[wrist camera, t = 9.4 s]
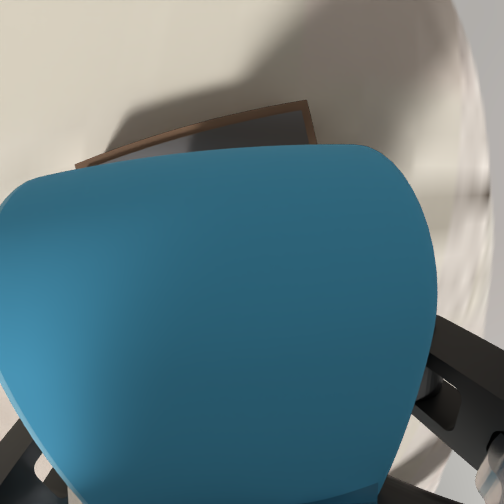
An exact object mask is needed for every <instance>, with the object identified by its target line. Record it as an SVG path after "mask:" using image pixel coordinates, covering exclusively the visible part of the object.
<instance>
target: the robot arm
mask: <svg viewBox="0 0 504 504" xmlns="http://www.w3.org/2000/svg"><path fill="white" fill-rule="evenodd" d="M443 379H445V380H446V381H448V382H449V383H450V384H452V385H453V386H455V387H456V388H457V389H456V388H454V387H453V386H452V385H450V384H449V383H447V382H446V381H444V380H443ZM411 414H412V415H414V416H415V417H416V418H417V419H418V420H419V421H420V422H422V423H423V424H424V425H425V426H426V427H427V428H428V429H430V430H431V431H432V432H433V433H434V434H435V435H436V436H438V437H439V438H440V439H441V440H442V441H443V442H445V443H446V444H447V445H448V446H449V447H450V448H451V449H453V450H454V451H455V452H456V453H457V454H458V455H460V456H461V457H462V458H463V459H464V460H465V461H467V462H468V463H469V464H470V465H471V466H472V467H474V468H475V469H476V470H477V474H476V479H475V482H476V488H477V490H478V492H479V493H480V494H481V496H482V497H483V498H484V500H485V503H486V504H504V350H502V349H500V348H499V347H497V346H495V345H493V344H491V343H489V342H488V341H486V340H484V339H482V338H480V337H478V336H477V335H475V334H473V333H471V332H469V331H467V330H465V329H464V328H462V327H460V326H458V325H456V324H454V323H452V322H450V321H448V320H447V319H445V318H443V317H441V316H438V315H436V320H435V327H434V333H433V338H432V342H431V346H430V351H429V355H428V359H427V363H426V366H425V370H424V374H423V377H422V381H421V384H420V388H419V391H418V394H417V398H416V401H415V404H414V407H413V410H412V413H411ZM41 454H42V451H41V450H40V448H39V447H38V445H37V444H36V443H35V441H34V440H33V438H32V437H31V435H30V433H29V432H28V430H27V429H26V427H25V426H24V424H23V422H22V421H21V419H20V418H19V419H18V421H17V422H16V423H15V424H14V426H13V427H12V428H11V429H10V430H9V432H8V433H7V434H6V435H5V437H4V438H3V439H2V440H1V442H0V504H83V503H82V502H81V501H80V500H79V499H78V497H77V496H76V495H75V494H74V493H73V492H72V490H71V489H70V488H69V487H68V486H67V484H66V483H65V482H64V481H63V479H62V478H61V477H60V476H59V474H58V473H57V472H56V470H55V469H54V468H52V469H51V471H50V472H49V474H48V475H47V477H46V479H45V480H44V482H42V481H41V480H40V479H39V478H38V477H37V476H36V475H35V472H34V465H35V463H36V461H37V460H38V458H39V457H40V455H41ZM301 504H463V503H460V502H457V501H454V500H451V499H448V498H445V497H442V496H439V495H437V494H434V493H431V492H429V491H426V490H423V489H421V488H418V487H416V486H413V485H411V484H408V483H406V482H403V481H401V480H399V479H396V478H394V477H392V476H389V475H387V477H386V479H385V481H384V484H383V486H382V488H381V490H380V492H379V494H378V483H375V484H372V485H370V486H367V487H364V488H361V489H358V490H355V491H352V492H349V493H346V494H343V495H339V496H336V497H332V498H328V499H324V500H319V501H314V502H308V503H301Z"/></svg>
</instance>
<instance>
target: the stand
mask: <svg viewBox="0 0 504 504" xmlns="http://www.w3.org/2000/svg"><path fill="white" fill-rule="evenodd" d="M281 145H317V141H316V137H315V132H314V128H313V123H312V119H311V115H310V111H309V107H308V103H307V100H302V101H296V102H291V103H285V104H280V105H274V106H269V107H264V108H259V109H254V110H250V111H245V112H241V113H236V114H232V115H228V116H224V117H220V118H216V119H212V120H208V121H204V122H200V123H196V124H193V125H189V126H186V127H182V128H179V129H175V130H172V131H168V132H165V133H162V134H159V135H155V136H152V137H149V138H146V139H143V140H140V141H137V142H134V143H131V144H128V145H125V146H122V147H119V148H117V149H114V150H111V151H108V152H106V153H103V154H100V155H98V156H95V157H92V158H90V159H87V160H85V161H82V162H80V163H77V164H75V168H76V169H80V168H85V167H91V166H96V165H102V164H108V163H113V162H120V161H126V160H133V159H139V158H146V157H154V156H161V155H169V154H178V153H187V152H196V151H206V150H218V149H230V148H244V147H260V146H281Z"/></svg>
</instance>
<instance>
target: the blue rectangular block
mask: <svg viewBox="0 0 504 504" xmlns="http://www.w3.org/2000/svg"><path fill="white" fill-rule="evenodd" d="M436 311H437V272H436V264H435V257H434V250H433V245H432V241H431V237H430V233H429V229H428V225H427V222H426V219H425V217H424V214H423V211H422V208H421V206H420V204H419V202H418V200H417V198H416V195H415V193H414V191H413V189H412V188H411V186H410V185H409V183H408V181H407V180H406V178H405V177H404V175H403V174H402V173H401V172H400V170H399V169H398V168H397V167H396V166H395V165H394V164H393V162H391V161H390V160H389V159H388V158H387V157H385V156H384V155H383V154H382V153H380V152H378V151H376V150H374V149H372V148H370V147H367V146H362V145H354V144H317V145H281V146H260V147H244V148H230V149H218V150H206V151H196V152H187V153H178V154H169V155H161V156H154V157H146V158H139V159H133V160H126V161H120V162H113V163H108V164H102V165H96V166H91V167H85V168H80V169H75V170H70V171H65V172H60V173H56V174H51V175H46V176H42V177H38V178H35V179H32V180H29V181H27V182H25V183H23V184H22V185H20V186H19V187H17V188H16V189H15V190H14V191H13V192H12V193H11V194H10V195H9V196H8V197H7V198H6V199H5V200H4V201H3V203H2V204H1V205H0V383H1V385H2V387H3V389H4V391H5V393H6V395H7V396H8V398H9V400H10V402H11V404H12V405H13V407H14V409H15V411H16V412H17V414H18V416H19V417H20V419H21V421H22V422H23V424H24V426H25V427H26V429H27V430H28V432H29V433H30V435H31V437H32V438H33V440H34V441H35V443H36V444H37V445H38V447H39V448H40V450H41V451H42V453H43V454H44V455H45V457H46V458H47V460H48V461H49V462H50V464H51V465H52V466H53V468H54V469H55V470H56V472H57V473H58V474H59V476H60V477H61V478H62V479H63V481H64V482H65V483H66V484H67V486H68V487H69V488H70V489H71V490H72V492H73V493H74V494H75V495H76V496H77V497H78V499H79V500H80V501H81V502H82V503H83V504H301V503H308V502H314V501H319V500H324V499H328V498H332V497H336V496H339V495H343V494H346V493H349V492H352V491H355V490H358V489H361V488H364V487H367V486H370V485H372V484H375V483H378V494H379V492H380V490H381V488H382V486H383V484H384V481H385V479H386V477H387V475H388V473H389V470H390V468H391V466H392V463H393V461H394V458H395V456H396V454H397V451H398V449H399V446H400V443H401V441H402V438H403V436H404V433H405V430H406V427H407V425H408V422H409V419H410V416H411V413H412V410H413V407H414V404H415V401H416V398H417V394H418V391H419V388H420V384H421V381H422V377H423V374H424V370H425V366H426V363H427V359H428V355H429V351H430V346H431V342H432V338H433V333H434V327H435V320H436Z"/></svg>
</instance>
